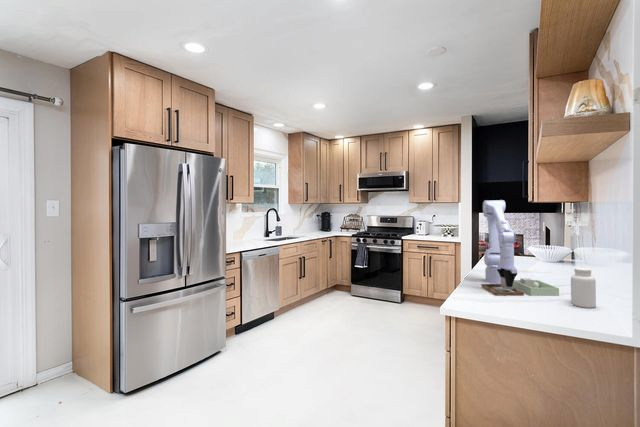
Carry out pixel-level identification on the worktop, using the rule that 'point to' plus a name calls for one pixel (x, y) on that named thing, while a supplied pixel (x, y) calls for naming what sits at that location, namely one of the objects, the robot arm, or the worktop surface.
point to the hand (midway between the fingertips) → (507, 285)
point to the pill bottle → (583, 288)
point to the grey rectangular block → (527, 282)
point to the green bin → (537, 289)
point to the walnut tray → (497, 293)
